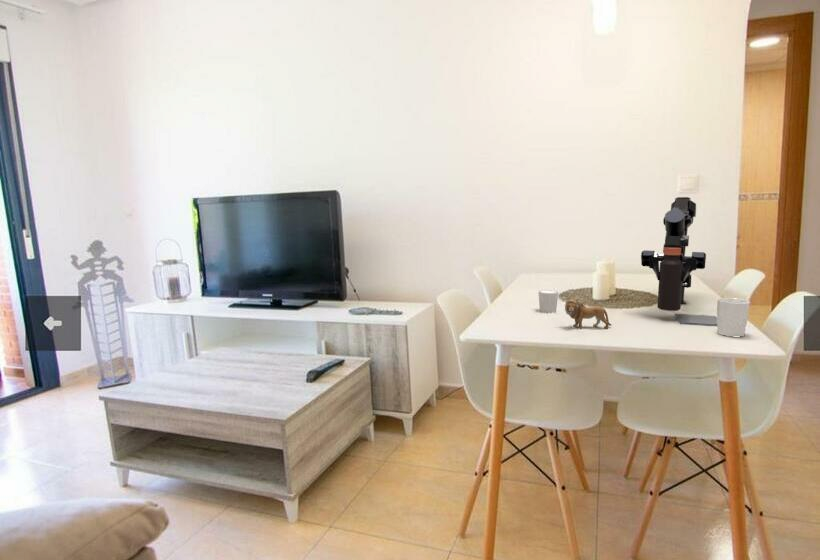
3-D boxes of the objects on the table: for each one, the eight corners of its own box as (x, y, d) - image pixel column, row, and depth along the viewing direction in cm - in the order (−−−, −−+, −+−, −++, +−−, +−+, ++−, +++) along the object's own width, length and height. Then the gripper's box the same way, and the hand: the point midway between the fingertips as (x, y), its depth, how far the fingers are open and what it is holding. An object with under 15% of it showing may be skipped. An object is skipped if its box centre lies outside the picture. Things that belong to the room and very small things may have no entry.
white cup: (715, 336, 146) (718, 302, 144) (714, 329, 153) (716, 297, 151) (748, 339, 142) (751, 304, 140) (745, 332, 149) (748, 299, 147)
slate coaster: (674, 315, 171) (674, 313, 171) (715, 317, 167) (715, 315, 167) (679, 323, 160) (679, 322, 160) (723, 326, 156) (723, 324, 155)
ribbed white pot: (538, 312, 179) (538, 293, 178) (537, 308, 185) (538, 289, 184) (558, 313, 177) (558, 293, 176) (557, 309, 184) (558, 290, 183)
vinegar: (653, 306, 169) (656, 246, 165) (673, 306, 169) (677, 246, 165) (663, 311, 162) (667, 249, 159) (684, 310, 162) (689, 248, 159)
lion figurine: (567, 330, 155) (568, 301, 154) (561, 325, 160) (562, 298, 159) (614, 329, 155) (616, 300, 154) (607, 324, 161) (609, 296, 159)
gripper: (643, 226, 169) (637, 263, 161) (708, 226, 160) (705, 266, 152) (644, 247, 177) (639, 283, 169) (706, 249, 168) (703, 287, 160)
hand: (670, 280), depth 162 cm, fingers closed on vinegar, 7 cm apart
